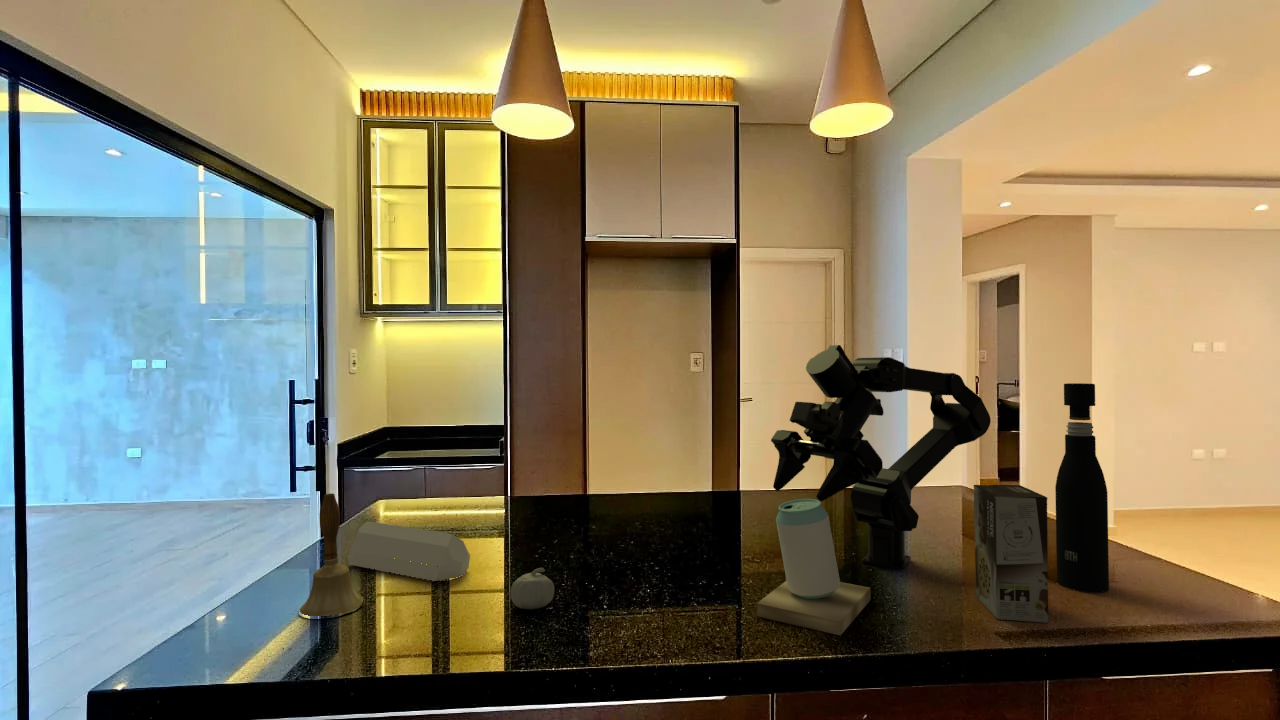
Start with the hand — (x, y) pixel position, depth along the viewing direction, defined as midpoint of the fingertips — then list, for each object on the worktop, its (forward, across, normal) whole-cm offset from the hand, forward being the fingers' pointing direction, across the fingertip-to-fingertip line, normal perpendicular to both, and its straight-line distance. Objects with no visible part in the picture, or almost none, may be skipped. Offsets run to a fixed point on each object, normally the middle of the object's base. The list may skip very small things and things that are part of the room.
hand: (796, 494), depth 97 cm
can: (+11, +8, +5) cm, 15 cm away
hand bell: (+54, -27, -34) cm, 69 cm away
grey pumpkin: (+36, -13, -17) cm, 42 cm away
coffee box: (-2, +22, +22) cm, 31 cm away
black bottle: (-15, +23, +35) cm, 44 cm away
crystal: (+45, -39, -25) cm, 65 cm away
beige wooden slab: (+14, +8, +7) cm, 17 cm away
